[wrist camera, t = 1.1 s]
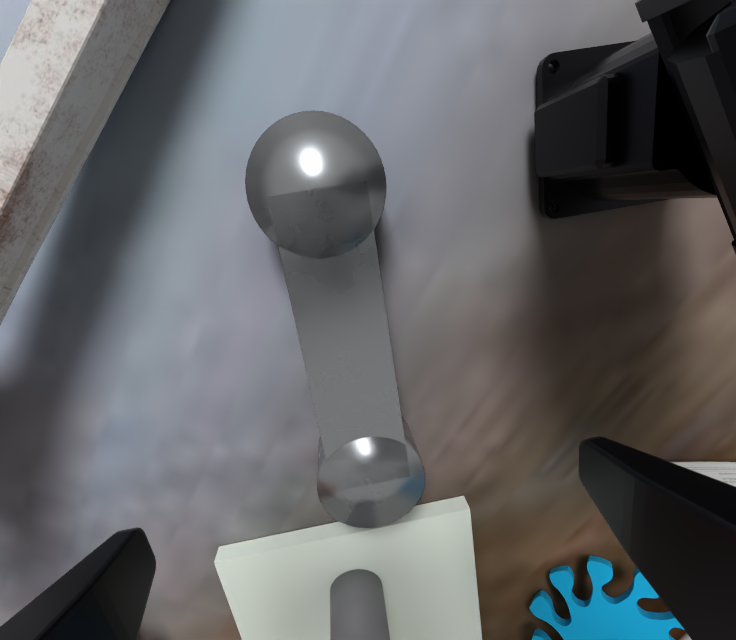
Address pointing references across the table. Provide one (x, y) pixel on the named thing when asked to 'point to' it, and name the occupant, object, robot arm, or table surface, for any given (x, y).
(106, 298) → the table surface
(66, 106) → the wrench
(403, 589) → the peg board
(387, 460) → the ball-ended metal rod
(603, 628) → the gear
